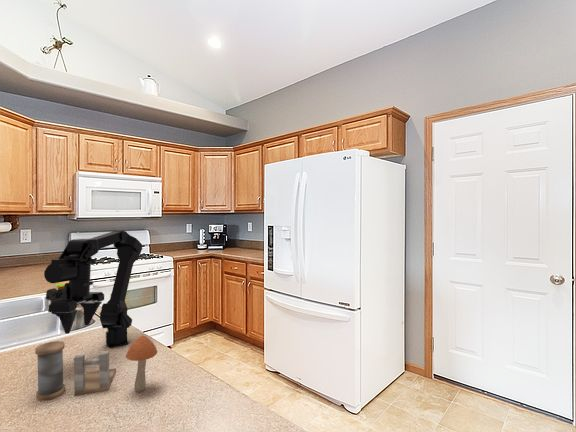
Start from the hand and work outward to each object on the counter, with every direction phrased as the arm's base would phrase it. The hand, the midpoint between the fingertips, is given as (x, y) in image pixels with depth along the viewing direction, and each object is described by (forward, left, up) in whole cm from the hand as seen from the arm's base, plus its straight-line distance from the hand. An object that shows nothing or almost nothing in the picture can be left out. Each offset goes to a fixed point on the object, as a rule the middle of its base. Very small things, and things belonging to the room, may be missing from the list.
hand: (77, 329), depth 103 cm
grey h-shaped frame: (-4, +14, -12) cm, 19 cm away
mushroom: (-14, +25, -12) cm, 31 cm away
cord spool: (+7, +13, -12) cm, 19 cm away
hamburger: (0, -122, -13) cm, 123 cm away
